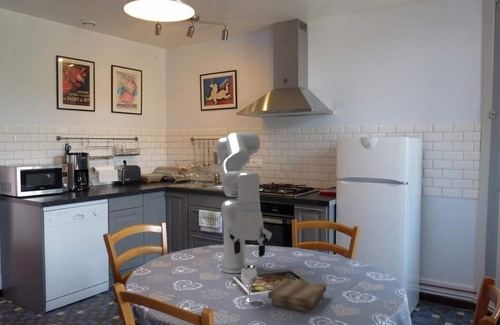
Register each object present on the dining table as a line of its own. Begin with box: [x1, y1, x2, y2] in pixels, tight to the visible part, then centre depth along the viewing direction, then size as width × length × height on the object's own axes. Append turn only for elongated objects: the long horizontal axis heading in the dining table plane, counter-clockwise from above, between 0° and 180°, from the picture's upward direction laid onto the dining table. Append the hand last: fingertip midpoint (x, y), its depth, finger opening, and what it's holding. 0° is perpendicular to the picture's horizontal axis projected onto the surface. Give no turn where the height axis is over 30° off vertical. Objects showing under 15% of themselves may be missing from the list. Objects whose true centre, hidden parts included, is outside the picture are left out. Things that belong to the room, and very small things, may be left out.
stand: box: [267, 278, 327, 313], centre depth 140 cm, size 16×16×4 cm
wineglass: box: [240, 264, 258, 304], centre depth 140 cm, size 6×6×12 cm
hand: (249, 254), depth 139 cm, fingers open, 9 cm apart
